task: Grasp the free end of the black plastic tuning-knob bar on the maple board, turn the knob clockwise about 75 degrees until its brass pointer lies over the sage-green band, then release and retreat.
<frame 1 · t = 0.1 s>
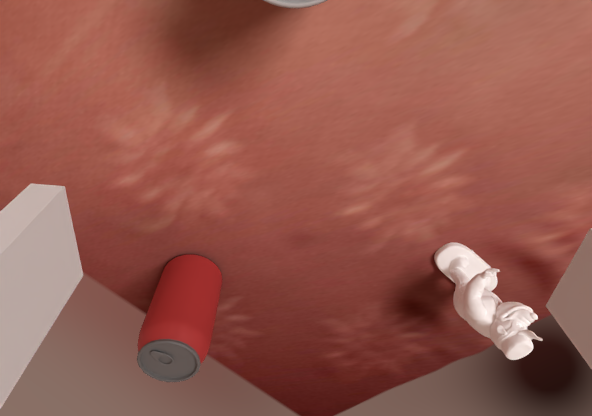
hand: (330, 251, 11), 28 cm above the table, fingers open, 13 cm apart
beer can: (194, 273, 48), on the table
figurine: (468, 264, 48), on the table
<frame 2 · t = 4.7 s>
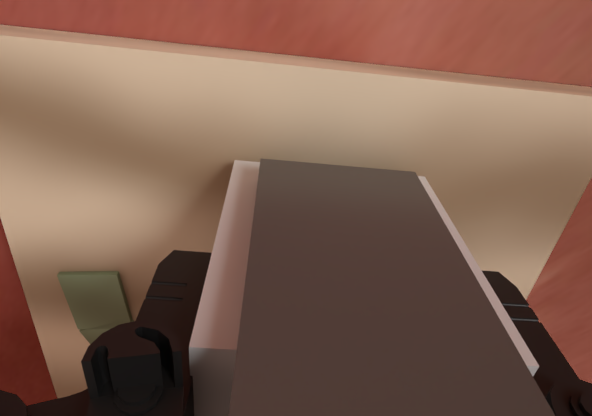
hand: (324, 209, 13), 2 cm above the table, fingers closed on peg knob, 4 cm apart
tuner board: (277, 301, 17), on the table
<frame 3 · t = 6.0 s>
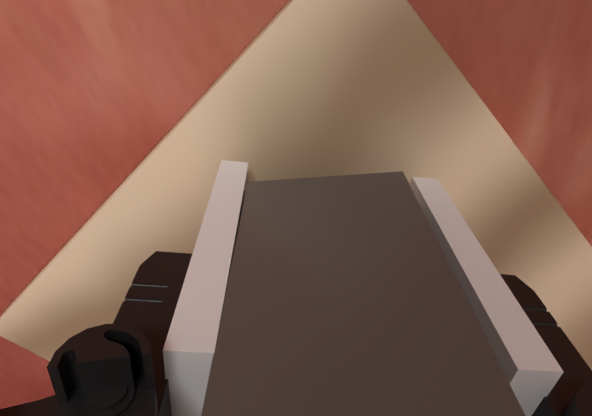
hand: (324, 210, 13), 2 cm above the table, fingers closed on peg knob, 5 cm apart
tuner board: (332, 315, 17), on the table
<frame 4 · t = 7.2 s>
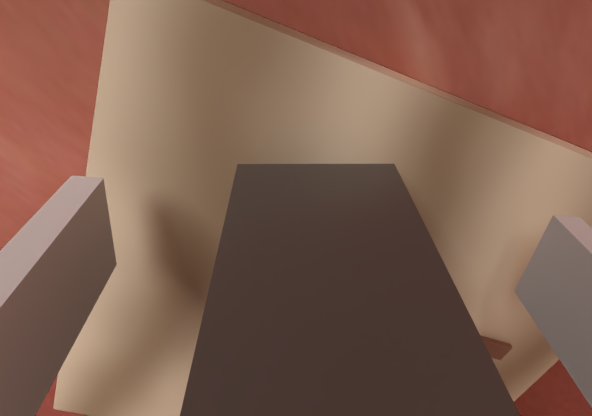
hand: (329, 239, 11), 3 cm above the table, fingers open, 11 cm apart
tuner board: (332, 302, 17), on the table
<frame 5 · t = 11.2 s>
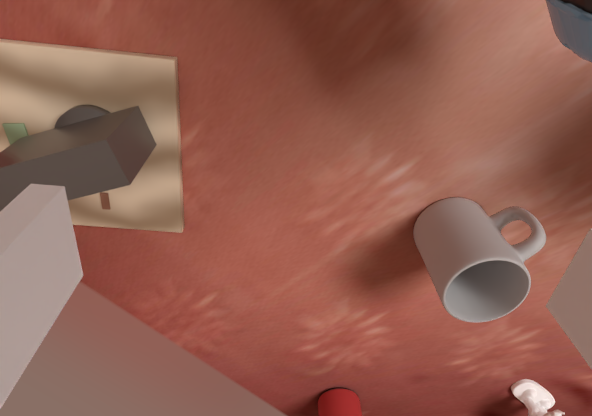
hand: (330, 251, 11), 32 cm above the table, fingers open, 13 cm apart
mug: (461, 218, 49), on the table
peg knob: (58, 160, 37), point 6 cm above the table, hinge at -69.3°
beer can: (338, 397, 67), on the table
figurine: (534, 391, 67), on the table
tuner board: (92, 143, 43), on the table
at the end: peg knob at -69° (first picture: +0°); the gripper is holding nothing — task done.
